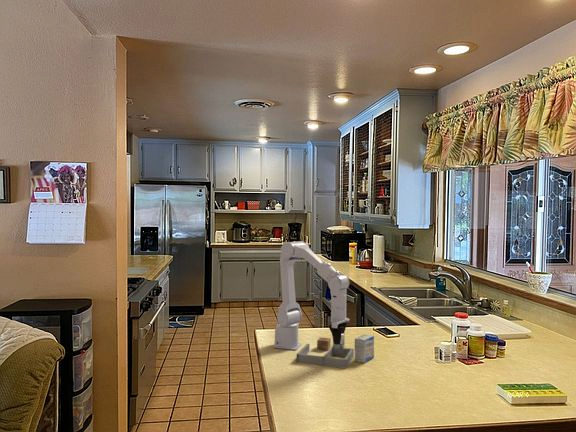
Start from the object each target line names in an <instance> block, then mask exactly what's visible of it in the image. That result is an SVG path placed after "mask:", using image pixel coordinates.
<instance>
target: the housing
mask: <svg viewBox="0 0 576 432" xmlns="http://www.w3.org/2000/svg"><path fill="white" fill-rule="evenodd" d="M308 353H310V343H306V344H305V345H304V346H303V347H302V348H301V349H300V350H299V351H298V352H297V353H296V363H301V364H309V365H316V366H323V367H324V366H325V367H327V366H328V367H332V368H333V367H334V368H342V369H347V368H348V367H349V365H350V363H351V362H352V360H353V358H355V348H350V347H344V348H340V349H338V348H334V347H333V345H332V346H330V349H329V350H328V351H326V353H325V354H324V355H323V356H322V355H314V354H308ZM333 356H339V357H338V358H337V357H333ZM341 357H344V358H341Z"/></svg>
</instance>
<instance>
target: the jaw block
mask: <svg viewBox="0 0 576 432" xmlns="http://www.w3.org/2000/svg"><path fill="white" fill-rule="evenodd" d="M331 343H332V342H331V337H321V336H320V337H319V338H318V339H317V341H316V350H318V351H326V352H328V350H329V349H330V348H331Z"/></svg>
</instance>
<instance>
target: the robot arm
mask: <svg viewBox="0 0 576 432" xmlns="http://www.w3.org/2000/svg"><path fill="white" fill-rule="evenodd" d="M298 259H304V260H305V261H307V262H308V263H309V264H310V265H312V266H313V267H314V268H315V269H316V274H317V275H319V276H320V277H321V278H322V279H323V280H324V281H325V282H326V283H327V285H328V288H329V289H330V296H331V297H330V298H331V301H330V304H331V305H330V311H331V312H330V323H331V324H329V325H328V329H329V330H330V333H331V336H332V343H333V342H334V344H337V345H340V342H341V335H342V332H343V333H344V334H345V331H346V328H347V325H348V324H349V322H350V318H348V317H347V289H348V288H349V286H350V278H349V277H348V276H347V274H345V273H340V271H339V270H336V268H334V267H333V266H332V263H331V262H327V261H326V262H323V261H322V260H321V259H320V258H319V257H318V255H316V254H315V253H314V251H313V250H311V249H310V245H309V244H307V243H306V242H305V241H304V240H303V241H302V240H298V241H286V242H284V243H283V244H282V245H281V247H280V257H279V266H280V267H279V269H280V282H281V298H282V300H281V301H282V303H281V304H280V305H279V307H277V311H278V312H277V314H276V315H277V317H276V320H277V323H278V324H276V326H275V329H274V346H273V348H275V349H283V350H292V351H297V349H298V348H299V347H301V345H302V343H301V342H300V343H299V325H300V322H301V321H302V319H303V313H302V310H301V306H300V304H299V303H298V302H297V300H296V299H297V298H296V288H295V287H296V286H295V273H294V272H295V271H294V264H295V263H296V262H297V261H298Z"/></svg>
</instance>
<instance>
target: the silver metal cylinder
mask: <svg viewBox="0 0 576 432" xmlns="http://www.w3.org/2000/svg"><path fill="white" fill-rule="evenodd" d="M345 336H346V335H345V332H344V333H343V332H342V335H341V342H340V345H337V344H334V342H333V341H332V346H333V347H334V348H338V349H340V348H345V343H346V342H345V341H346V340H345Z"/></svg>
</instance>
